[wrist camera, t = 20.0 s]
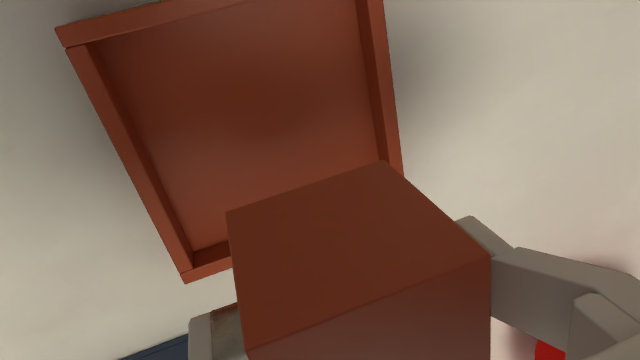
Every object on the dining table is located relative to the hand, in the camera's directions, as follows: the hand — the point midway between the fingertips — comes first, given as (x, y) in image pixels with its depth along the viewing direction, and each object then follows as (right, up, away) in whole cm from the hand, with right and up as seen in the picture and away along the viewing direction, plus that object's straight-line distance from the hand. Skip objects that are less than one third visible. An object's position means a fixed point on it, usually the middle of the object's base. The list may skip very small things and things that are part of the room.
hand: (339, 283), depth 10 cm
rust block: (0, +1, +1) cm, 2 cm away
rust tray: (-4, +6, +11) cm, 13 cm away
